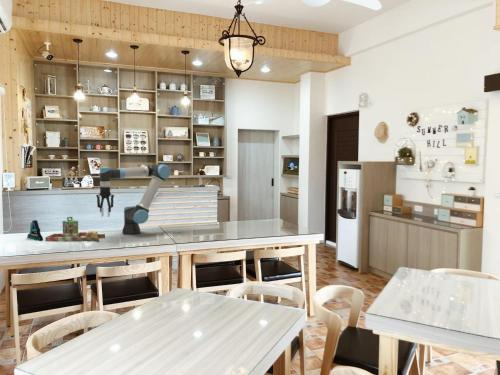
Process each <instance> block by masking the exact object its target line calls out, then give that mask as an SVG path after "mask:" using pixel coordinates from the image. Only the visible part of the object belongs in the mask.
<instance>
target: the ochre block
mask: <svg viewBox="0 0 500 375" xmlns="http://www.w3.org/2000/svg"><path fill="white" fill-rule="evenodd" d="M86 232H87V233H86V236H85V237H98V234H99V233H98V231H92V230H91V231H90V230H89V231H86Z"/></svg>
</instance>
